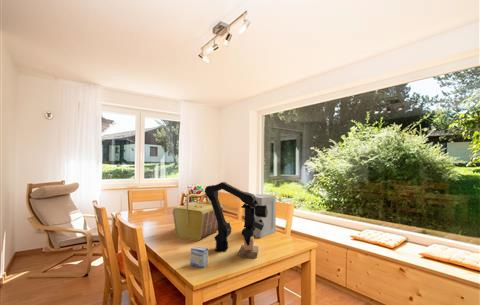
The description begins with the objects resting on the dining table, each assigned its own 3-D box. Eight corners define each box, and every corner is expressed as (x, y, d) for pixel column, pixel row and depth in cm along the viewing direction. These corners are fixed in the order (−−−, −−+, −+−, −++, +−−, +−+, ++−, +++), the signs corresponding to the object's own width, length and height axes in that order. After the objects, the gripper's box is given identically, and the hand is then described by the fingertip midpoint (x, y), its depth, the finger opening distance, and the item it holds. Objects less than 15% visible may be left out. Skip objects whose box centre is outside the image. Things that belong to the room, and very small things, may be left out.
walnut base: (238, 256, 132) (239, 251, 132) (241, 249, 141) (241, 244, 142) (256, 257, 130) (256, 252, 130) (258, 251, 140) (258, 246, 140)
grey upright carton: (260, 228, 188) (260, 193, 189) (275, 232, 178) (276, 195, 179) (244, 233, 173) (245, 195, 174) (260, 238, 163) (261, 197, 165)
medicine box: (190, 265, 119) (190, 248, 119) (194, 262, 123) (195, 245, 124) (203, 268, 116) (204, 250, 117) (208, 264, 120) (208, 247, 121)
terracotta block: (244, 249, 134) (244, 239, 134) (245, 246, 139) (245, 236, 139) (252, 250, 133) (252, 239, 133) (253, 247, 138) (253, 236, 138)
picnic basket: (195, 227, 188) (196, 189, 190) (224, 231, 178) (224, 191, 179) (170, 237, 162) (171, 193, 163) (201, 243, 151) (203, 196, 152)
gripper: (262, 220, 126) (261, 250, 125) (264, 213, 144) (264, 239, 144) (241, 219, 128) (241, 248, 127) (246, 212, 146) (245, 237, 146)
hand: (249, 243), depth 136 cm, fingers open, 7 cm apart
